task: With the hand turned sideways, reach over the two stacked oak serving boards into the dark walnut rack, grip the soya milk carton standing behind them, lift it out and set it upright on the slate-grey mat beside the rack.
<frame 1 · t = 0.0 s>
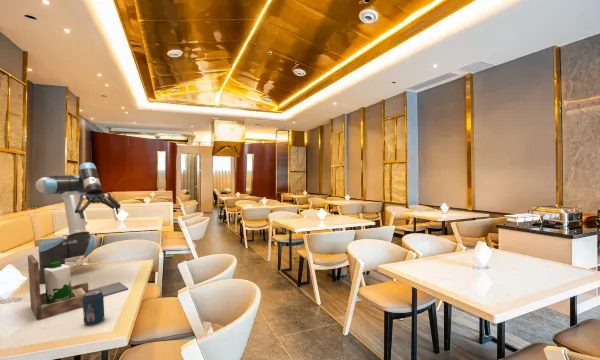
hand: (102, 221, 155), 36 cm above the table, tool tilted 35°, fingers open, 13 cm apart
offcut upper: (78, 296, 144), point 2 cm above the table, touching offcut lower
soya milk: (59, 306, 139), resting in rack
mat: (108, 290, 156), on the table
soda can: (94, 322, 122), on the table
rack: (65, 304, 140), on the table
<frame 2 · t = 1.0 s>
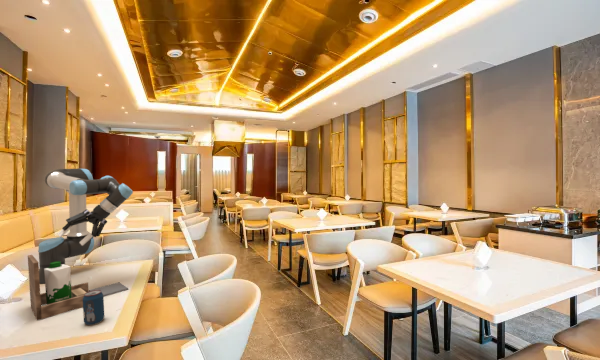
hand: (70, 240, 152), 28 cm above the table, tool tilted 45°, fingers open, 13 cm apart
offcut upper: (79, 296, 144), point 2 cm above the table
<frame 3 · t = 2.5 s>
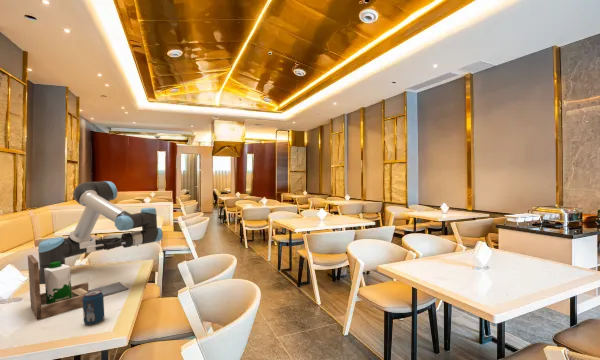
hand: (83, 247, 145), 25 cm above the table, tool horizontal, fingers open, 13 cm apart
offcut upper: (80, 296, 144), point 2 cm above the table, touching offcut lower
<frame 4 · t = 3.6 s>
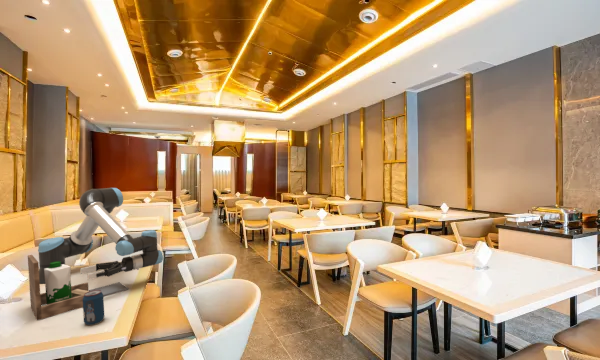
hand: (83, 274, 146), 12 cm above the table, tool horizontal, fingers open, 13 cm apart
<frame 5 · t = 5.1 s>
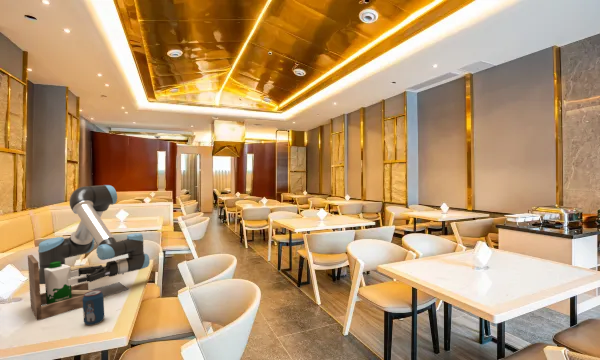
hand: (64, 279, 140), 12 cm above the table, tool horizontal, fingers open, 13 cm apart
offcut upper: (79, 296, 144), point 2 cm above the table
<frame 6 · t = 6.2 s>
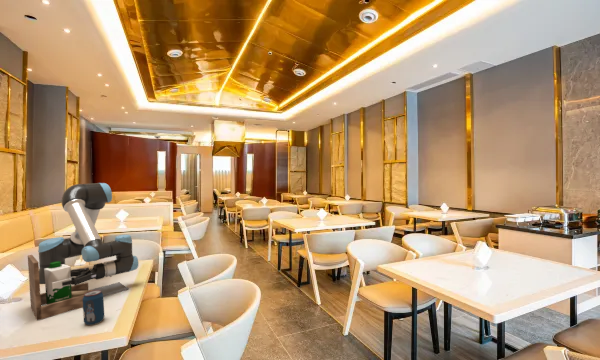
hand: (49, 282, 136), 12 cm above the table, tool horizontal, fingers open, 13 cm apart
offcut upper: (78, 297, 144), point 2 cm above the table, touching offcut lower
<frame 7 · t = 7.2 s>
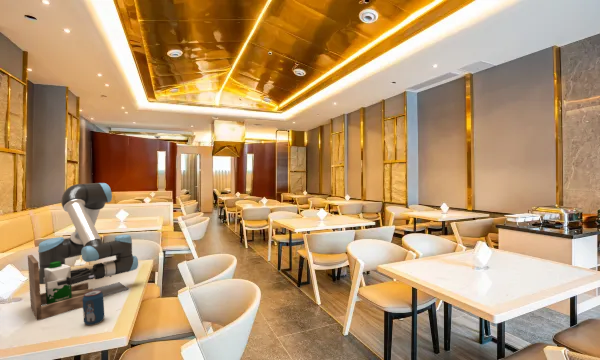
hand: (45, 283, 135), 12 cm above the table, tool horizontal, fingers closed on soya milk, 9 cm apart
soya milk: (59, 306, 139), resting in rack, touching gripper
when the fingers open (14 cm above the table, at t = 14.0 s): soya milk drops 1 cm, resting on mat.
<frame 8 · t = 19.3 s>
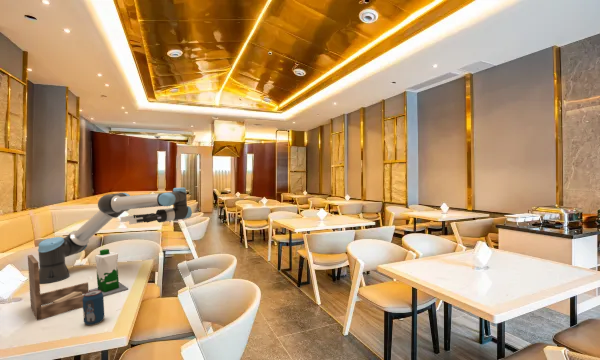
hand: (124, 220, 162), 35 cm above the table, tool horizontal, fingers open, 13 cm apart
offcut upper: (68, 301, 139), point 2 cm above the table, touching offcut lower
soya milk: (108, 289, 156), point 1 cm above the table, touching mat
at the end: soya milk 0.1 cm from the mat (horizontally); soya milk tilted 0°; soya milk touching mat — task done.
